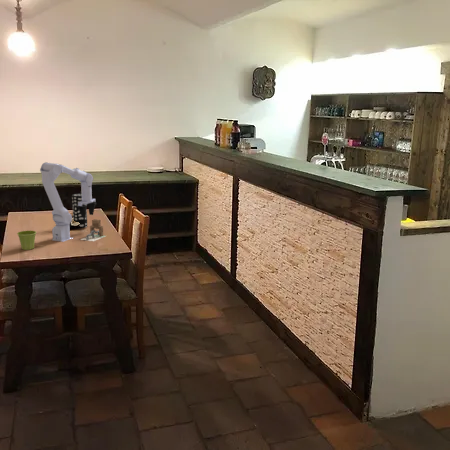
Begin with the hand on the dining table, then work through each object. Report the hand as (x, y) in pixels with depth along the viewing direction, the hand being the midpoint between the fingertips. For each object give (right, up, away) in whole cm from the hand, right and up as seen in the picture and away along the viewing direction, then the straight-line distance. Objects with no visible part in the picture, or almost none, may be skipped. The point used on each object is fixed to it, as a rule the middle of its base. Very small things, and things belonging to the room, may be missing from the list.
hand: (87, 215), depth 304 cm
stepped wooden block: (+7, -11, -6) cm, 15 cm away
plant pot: (-23, -18, -32) cm, 43 cm away
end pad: (+7, -12, -6) cm, 15 cm away
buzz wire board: (+6, -13, -10) cm, 17 cm away
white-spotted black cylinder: (-9, -7, +18) cm, 21 cm away
